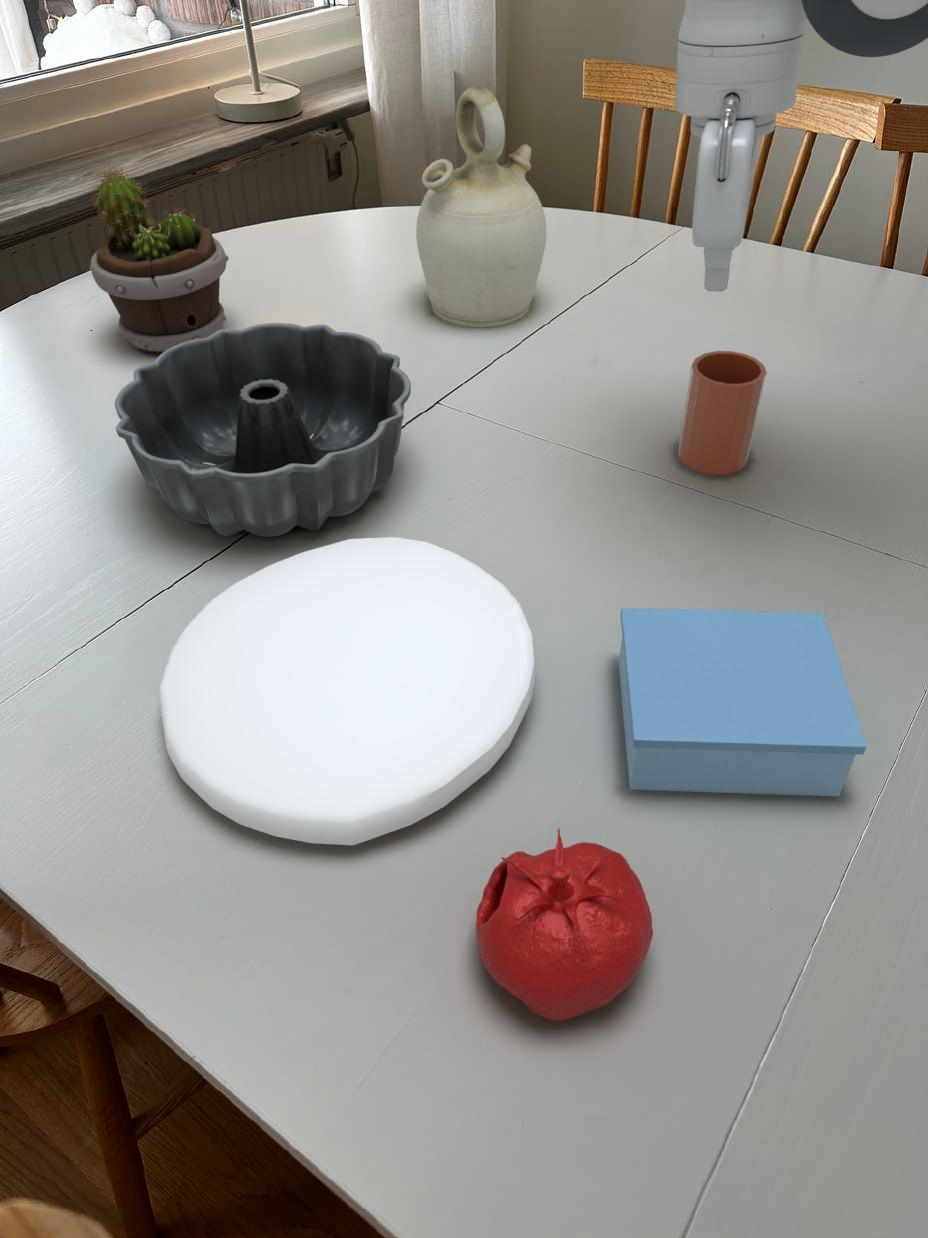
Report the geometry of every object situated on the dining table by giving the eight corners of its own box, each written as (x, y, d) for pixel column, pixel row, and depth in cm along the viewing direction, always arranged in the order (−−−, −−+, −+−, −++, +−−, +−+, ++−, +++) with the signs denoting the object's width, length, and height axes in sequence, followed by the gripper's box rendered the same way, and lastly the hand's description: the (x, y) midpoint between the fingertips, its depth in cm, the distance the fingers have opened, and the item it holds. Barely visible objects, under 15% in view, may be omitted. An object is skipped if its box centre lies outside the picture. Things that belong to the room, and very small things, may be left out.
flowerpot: (264, 324, 119) (236, 150, 105) (183, 381, 109) (140, 197, 96) (171, 301, 124) (132, 132, 111) (85, 353, 114) (31, 175, 101)
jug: (434, 344, 115) (426, 112, 98) (408, 289, 126) (397, 72, 109) (558, 328, 117) (571, 100, 100) (523, 276, 128) (529, 62, 111)
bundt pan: (420, 560, 85) (415, 463, 79) (115, 577, 84) (83, 480, 78) (411, 404, 105) (406, 316, 98) (163, 416, 104) (141, 328, 97)
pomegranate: (679, 971, 57) (703, 884, 51) (545, 1073, 53) (553, 992, 47) (570, 854, 63) (579, 763, 57) (442, 937, 59) (437, 849, 53)
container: (805, 670, 75) (823, 612, 71) (843, 804, 66) (867, 747, 62) (613, 665, 76) (621, 607, 72) (624, 797, 66) (634, 739, 62)
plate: (363, 890, 56) (67, 697, 68) (379, 939, 61) (100, 751, 72) (606, 588, 70) (328, 472, 82) (604, 647, 75) (341, 529, 87)
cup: (740, 442, 98) (759, 351, 92) (751, 480, 94) (771, 386, 87) (674, 441, 99) (688, 350, 92) (681, 478, 94) (696, 385, 87)
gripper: (775, 111, 64) (753, 316, 73) (784, 54, 79) (765, 229, 88) (678, 113, 66) (667, 314, 74) (704, 57, 81) (693, 229, 90)
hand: (720, 267), depth 81 cm, fingers open, 8 cm apart
